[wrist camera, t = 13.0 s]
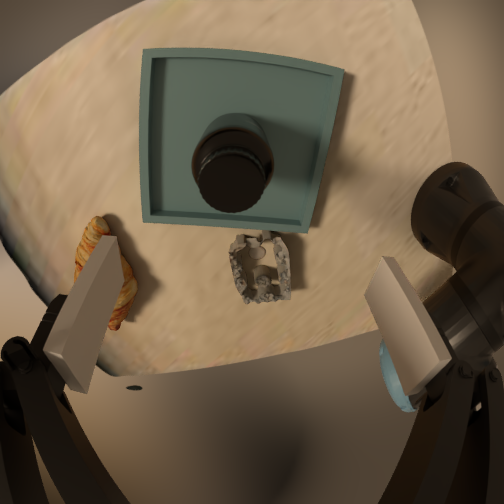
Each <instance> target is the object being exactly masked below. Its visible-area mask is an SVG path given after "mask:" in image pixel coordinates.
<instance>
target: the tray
mask: <svg viewBox="0 0 504 504" xmlns="http://www.w3.org/2000/svg"><path fill="white" fill-rule="evenodd" d="M343 75H344V69H341V68H337V67H333V66H329V65H325V64H321V63H316V62H312V61H307V60H302V59H297V58H292V57H286V56H280V55H273V54H266V53H259V52H250V51H241V50H229V49H213V48H153V49H143V55H142V67H141V83H140V106H139V163H140V188H141V205H142V218H143V222H144V223H163V224H181V225H197V226H213V227H228V228H243V229H256V230H270V231H283V232H295V233H307V234H308V230H309V226H310V222H311V218H312V215H313V211H314V207H315V203H316V199H317V195H318V191H319V187H320V182H321V178H322V174H323V170H324V166H325V161H326V157H327V153H328V148H329V144H330V139H331V135H332V130H333V125H334V121H335V116H336V111H337V106H338V101H339V96H340V91H341V86H342V80H343ZM228 113H242V114H245V115H248V116H250V117H252V118H253V119H255V120H256V121H257V122H258V123H259V124H260V125H261V127H262V128H263V130H264V132H265V134H266V137H267V139H268V142H269V145H270V147H271V150H272V153H273V157H274V173H273V177H272V179H271V182H270V183H269V185H268V187H267V188H266V189H265V190H264V193H263V194H262V195H261V199H260V200H258V202H257V204H255V205H253V207H252V208H249V209H248V210H246V211H242V212H237V213H226V212H220V211H219V210H215V209H214V208H212V207H210V205H209V204H207V203H206V202H205V200H204V199H203V198H202V195H201V194H200V193H199V190H200V189H199V188H198V186H197V184H196V183H195V181H194V178H193V175H192V170H191V161H192V156H193V153H194V150H195V148H196V146H197V144H198V142H199V140H200V138H201V137H202V135H203V133H204V131H205V130H206V128H207V127H208V125H209V124H210V123H211V122H212V121H213V120H215V119H216V118H218V117H219V116H221V115H224V114H228Z"/></svg>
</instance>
